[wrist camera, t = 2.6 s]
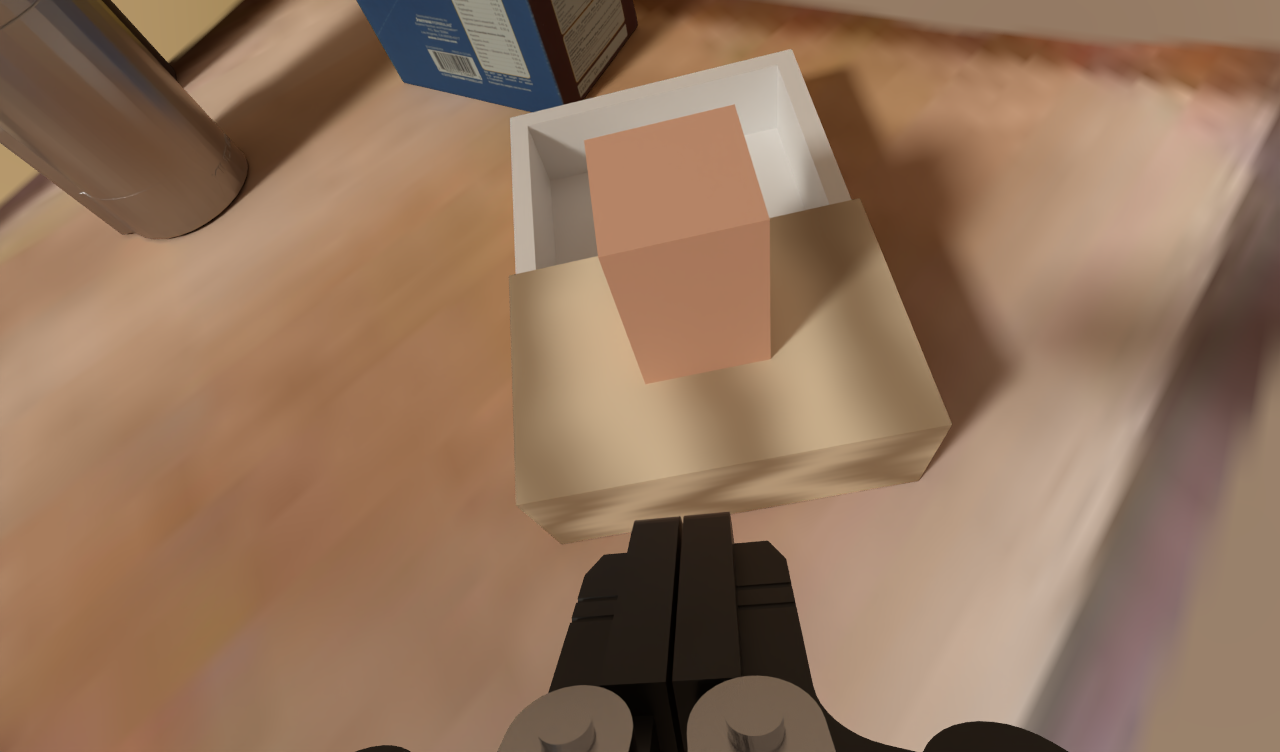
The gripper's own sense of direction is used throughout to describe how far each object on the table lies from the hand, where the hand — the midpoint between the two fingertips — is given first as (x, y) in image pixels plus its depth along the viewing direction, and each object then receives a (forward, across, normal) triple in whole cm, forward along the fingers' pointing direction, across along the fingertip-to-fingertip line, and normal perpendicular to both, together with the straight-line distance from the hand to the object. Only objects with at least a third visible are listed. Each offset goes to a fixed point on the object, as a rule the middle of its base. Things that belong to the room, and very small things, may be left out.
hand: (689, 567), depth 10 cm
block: (+17, 0, 0) cm, 17 cm away
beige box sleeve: (+21, 0, +4) cm, 21 cm away
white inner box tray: (+29, +1, -4) cm, 29 cm away
